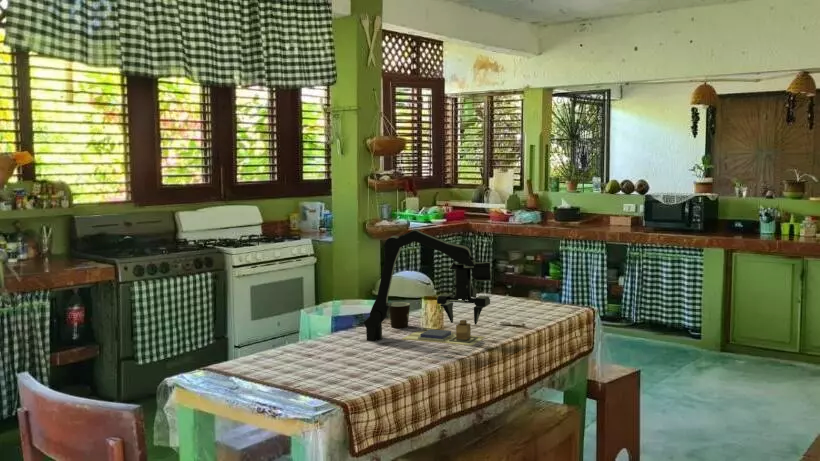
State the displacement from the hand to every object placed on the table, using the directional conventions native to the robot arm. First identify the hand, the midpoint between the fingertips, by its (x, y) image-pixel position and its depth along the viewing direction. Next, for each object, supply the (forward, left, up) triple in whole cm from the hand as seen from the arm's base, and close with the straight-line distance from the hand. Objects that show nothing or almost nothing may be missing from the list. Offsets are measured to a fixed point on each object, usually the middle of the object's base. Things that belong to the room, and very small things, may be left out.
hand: (463, 323), depth 276 cm
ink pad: (0, +11, -6) cm, 13 cm away
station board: (0, +8, -7) cm, 11 cm away
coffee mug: (+13, +32, -7) cm, 35 cm away
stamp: (0, 0, -6) cm, 6 cm away
